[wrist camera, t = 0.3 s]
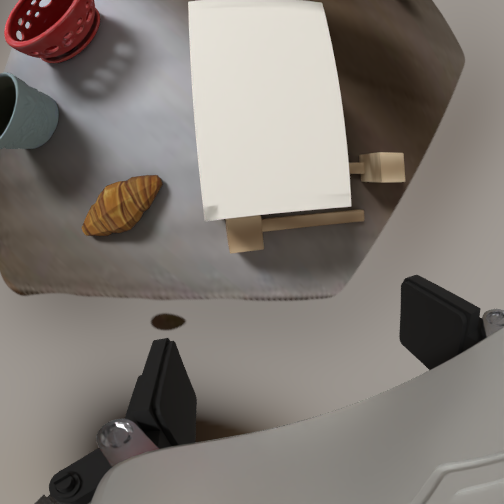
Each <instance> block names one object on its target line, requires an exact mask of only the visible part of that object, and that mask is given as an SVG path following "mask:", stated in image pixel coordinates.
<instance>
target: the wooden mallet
mask: <svg viewBox="0 0 504 504" xmlns="http://www.w3.org/2000/svg"><path fill="white" fill-rule="evenodd" d="M225 221H226V230H227V239H228V245H229V250H230V253H238V252H246V251H254V250H262V249H264V245H263V233H262V232H266V231H275V230H283V229H293V228H302V227H311V226H320V225H330V224H340V223H350V222H360V221H364V210H348V211H336V212H325V213H314V214H303V215H293V216H283V217H273V218H264V219H261V215H255V216H246V217H237V218H229V219H225Z"/></svg>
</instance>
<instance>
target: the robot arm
mask: <svg viewBox="0 0 504 504" xmlns="http://www.w3.org/2000/svg"><path fill="white" fill-rule="evenodd" d="M479 315H480V308H478V307H477V306H475V305H473V304H471V303H469V302H468V301H466V300H464V299H462V298H460V297H458V296H457V295H455V294H453V293H451V292H449V291H447V290H445V289H444V288H442V287H440V286H438V285H436V284H434V283H432V282H430V281H428V280H426V279H424V278H422V277H420V276H418V275H414V276H411V277H408V278H405V280H404V282H403V283H402V285H401V317H400V342H401V343H402V345H403V346H405V347H406V348H407V349H408V350H409V351H410V352H411V353H412V354H413V355H414V356H415V357H416V358H417V359H419V360H420V361H421V362H422V363H423V364H424V365H425V366H426V367H427V368H428V369H429V371H428V372H426V373H424V374H422V375H420V376H418V377H416V378H414V379H411V380H409V381H407V382H405V383H403V384H401V385H399V386H396V387H394V388H392V389H390V390H387V391H385V392H383V393H380V394H378V395H375V396H373V397H370V398H368V399H365V400H362V401H360V402H357V403H354V404H352V405H349V406H346V407H343V408H341V409H338V410H335V411H332V412H328V413H325V414H322V415H319V416H316V417H312V418H309V419H306V420H302V421H298V422H295V423H292V424H287V425H283V426H279V427H276V428H271V429H267V430H263V431H258V432H253V433H248V434H243V435H238V436H232V437H226V438H221V439H216V440H210V441H203V442H197V443H195V435H196V404H197V402H196V401H197V400H196V395H195V392H194V390H193V387H192V385H191V382H190V380H189V377H188V375H187V372H186V370H185V367H184V365H183V362H182V359H181V357H180V355H179V351H178V349H177V346H176V343H175V342H174V341H170V340H169V339H168V338H165V339H159V340H154V341H153V343H152V346H151V349H150V352H149V355H148V358H147V361H146V364H145V367H144V370H143V373H142V375H140V376H139V377H138V379H137V382H136V385H135V388H134V391H133V394H132V397H131V401H130V404H129V407H128V410H127V413H126V417H125V419H117V420H113V421H111V422H108V423H107V424H105V425H104V426H102V428H101V429H100V430H99V431H98V434H97V437H96V441H97V444H98V446H99V448H97V449H96V450H94V451H93V452H91V453H89V454H88V455H86V456H85V457H83V458H82V459H80V460H78V461H76V462H75V463H73V464H71V465H70V466H68V467H66V468H65V469H63V470H61V471H59V472H58V473H57V474H55V475H54V476H53V478H52V479H51V481H50V484H49V491H50V495H49V496H48V497H46V496H45V495H43V496H42V497H41V498H40V499H39V500H38V501H37V502H36V503H35V504H504V310H500V309H493V310H489V311H486V312H485V313H484V315H483V317H482V318H480V317H479Z"/></svg>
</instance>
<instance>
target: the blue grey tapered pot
mask: <svg viewBox="0 0 504 504" xmlns="http://www.w3.org/2000/svg"><path fill="white" fill-rule="evenodd" d="M58 116H59V112H58V107H57V104H56V103H55V101H54V100H53V99H52V98H51V97H49V96H48V95H46V94H44V93H42V92H38V90H37V89H35V88H32V87H30V86H28V85H27V84H26V83H25V82H24V81H22V80H21V79H19V78H17V77H16V76H14V75H13V74H11V73H1V74H0V149H2V148H6V149H18V148H20V149H34V148H37V147H40V146H41V145H43V144H44V143H46V142H47V141H48V140H49V139H50V137H51V136H52V134H53V133H54V131H55V129H56V126H57V123H58Z"/></svg>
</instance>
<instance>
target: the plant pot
mask: <svg viewBox="0 0 504 504" xmlns="http://www.w3.org/2000/svg"><path fill="white" fill-rule="evenodd" d="M32 1H33V0H19V1H18V3H17V4H16V6H15V7H14V8H13V10H12V12H11V13H10V15H9V17H8V20H7V22H6V26H5V31H4V34H5V40H6V42H7V43H8V44H9V45H10V46H11V47H13V48H14V49H16V50H18V51H20V52H22V53H24V54H26V55H29V56H32V57H37V58H41V59H42V60H43V61H45V62H48V63H59V62H63V61H66V60H68V59H70V58H72V57H74V56H75V55H77V54H78V53H80V52H81V51H82V50H83V49H84V48H85V47H86V46H87V45H88V44H89V43H90V42H91V41H92V39H93V38H94V36H95V34H96V32H97V30H98V28H99V24H100V14H99V12H98V10H97V9H96V8H95V3H94V0H51V2H50V3H49V4H48V5H47V6H45V7H40V6H39V3H40V1H41V0H36V2H35V3H34V4H33V5H31V2H32ZM28 10H30V14H29V15H27V11H28ZM36 12H39V15H38V16H37V17H35V14H36ZM20 18H22V23H21V25H19V24H18V20H19V19H20ZM26 22H29V23H30V26H29V28H28V29H27V28H26V27H25V24H26ZM18 30H19V31H20V32H21V34H22V40H19V39H18V38H17V36H16V32H17V31H18Z"/></svg>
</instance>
